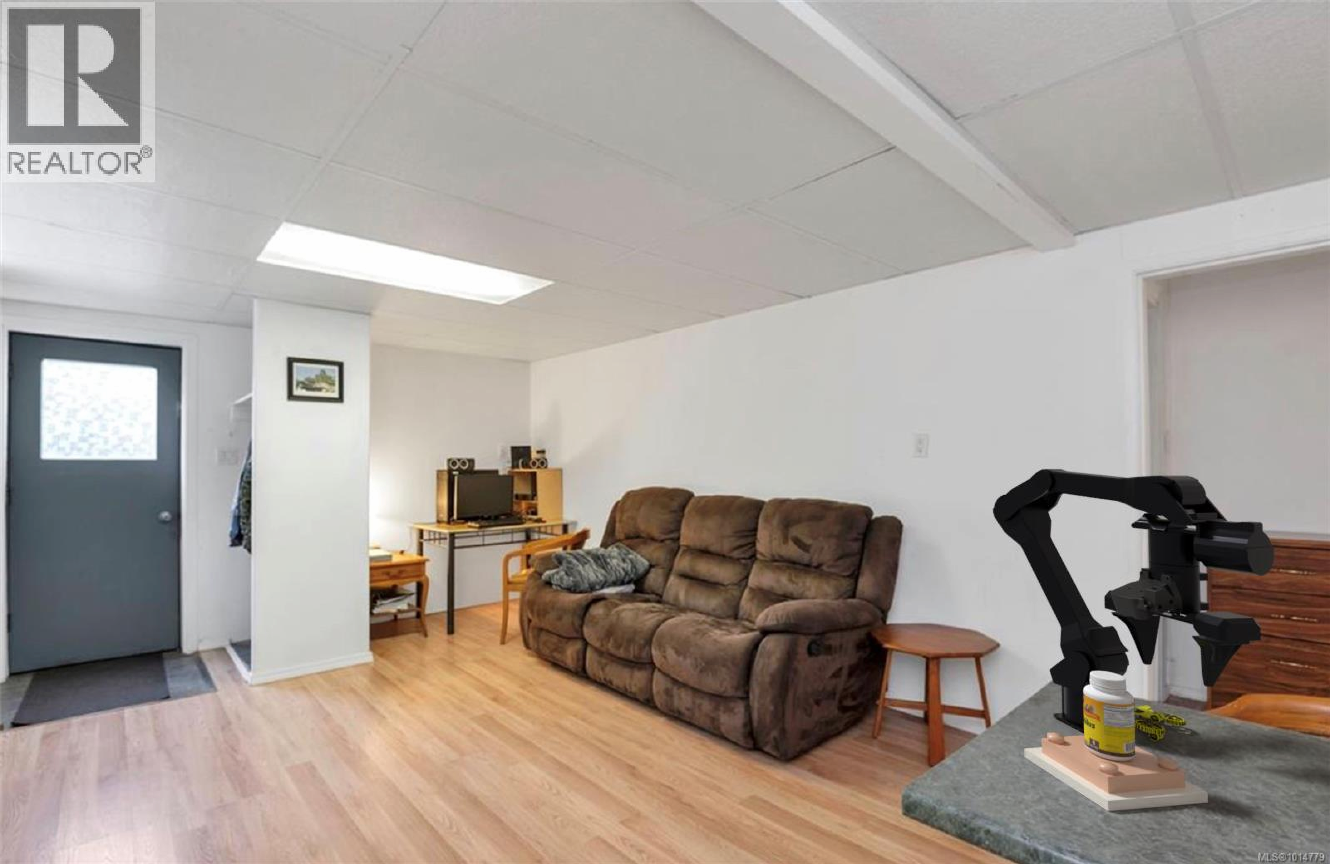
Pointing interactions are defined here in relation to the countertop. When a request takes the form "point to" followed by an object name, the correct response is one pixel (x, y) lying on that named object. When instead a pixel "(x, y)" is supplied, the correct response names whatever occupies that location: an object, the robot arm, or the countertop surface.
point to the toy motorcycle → (1154, 721)
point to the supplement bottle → (1109, 717)
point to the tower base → (1118, 798)
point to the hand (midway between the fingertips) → (1176, 674)
